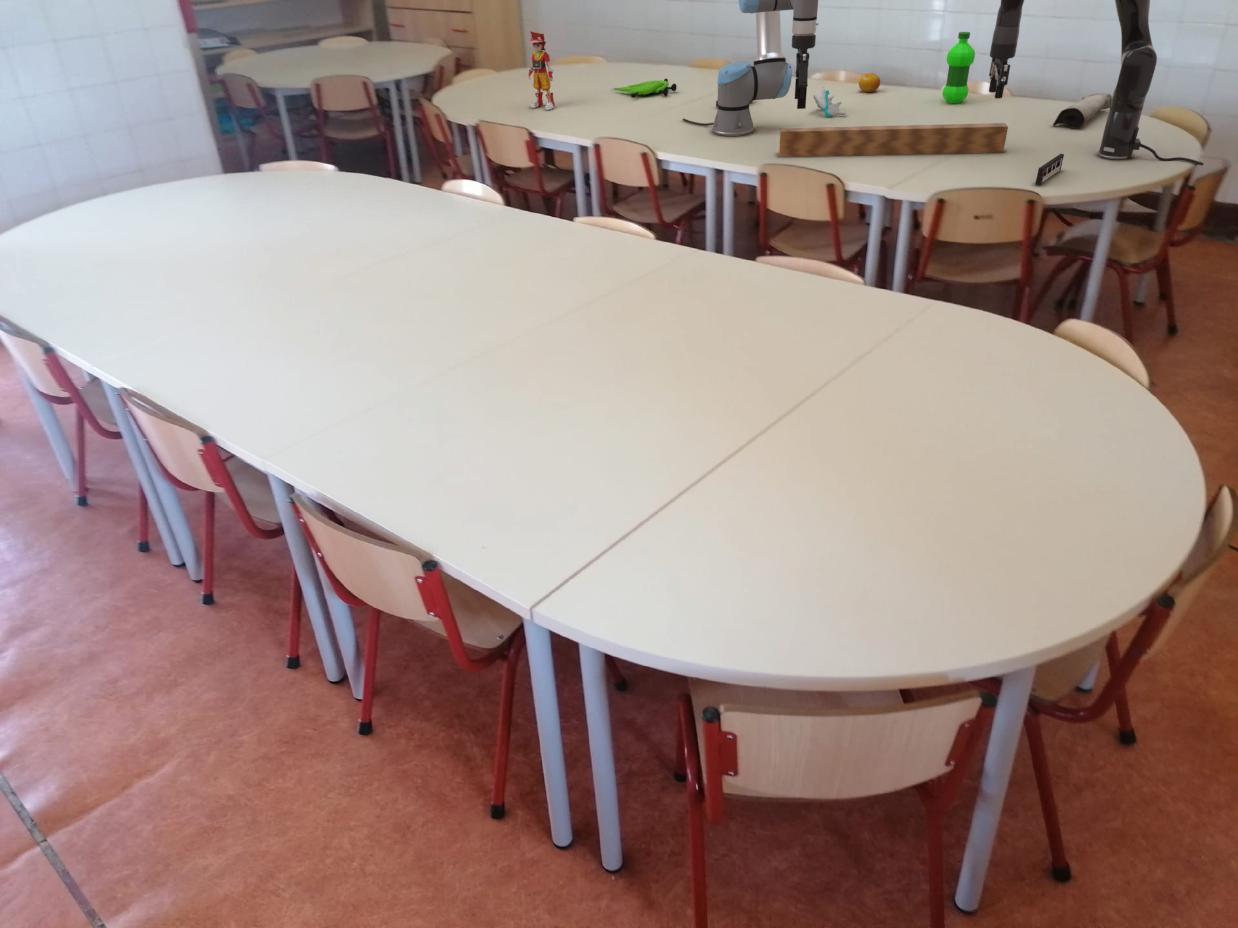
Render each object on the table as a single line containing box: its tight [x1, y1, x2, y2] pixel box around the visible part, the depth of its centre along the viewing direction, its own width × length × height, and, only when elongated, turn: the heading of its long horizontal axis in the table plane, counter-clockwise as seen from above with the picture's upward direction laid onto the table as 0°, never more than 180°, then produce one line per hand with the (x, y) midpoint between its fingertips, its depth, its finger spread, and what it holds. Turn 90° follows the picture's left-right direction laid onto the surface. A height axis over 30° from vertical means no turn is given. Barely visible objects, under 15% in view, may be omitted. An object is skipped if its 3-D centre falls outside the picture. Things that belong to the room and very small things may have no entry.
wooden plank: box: [778, 122, 1009, 158], centre depth 302 cm, size 74×4×8 cm, turn 83°
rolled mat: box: [1052, 92, 1113, 129], centre depth 324 cm, size 30×9×10 cm
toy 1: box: [527, 31, 556, 111], centre depth 374 cm, size 12×9×30 cm
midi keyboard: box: [1035, 153, 1065, 186], centre depth 273 cm, size 18×1×5 cm, turn 138°
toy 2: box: [612, 78, 677, 99], centre depth 396 cm, size 28×5×30 cm
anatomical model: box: [813, 86, 846, 118], centre depth 348 cm, size 15×10×10 cm
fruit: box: [858, 72, 881, 93], centre depth 374 cm, size 8×8×8 cm
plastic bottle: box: [942, 31, 976, 104], centre depth 348 cm, size 10×10×25 cm
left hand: (799, 103), depth 299 cm, fingers open, 13 cm apart
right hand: (995, 95), depth 290 cm, fingers open, 8 cm apart
